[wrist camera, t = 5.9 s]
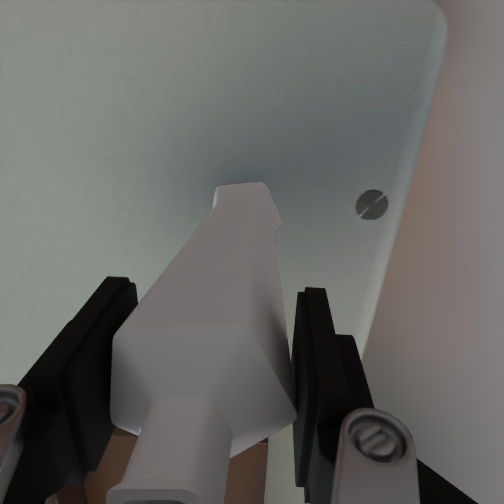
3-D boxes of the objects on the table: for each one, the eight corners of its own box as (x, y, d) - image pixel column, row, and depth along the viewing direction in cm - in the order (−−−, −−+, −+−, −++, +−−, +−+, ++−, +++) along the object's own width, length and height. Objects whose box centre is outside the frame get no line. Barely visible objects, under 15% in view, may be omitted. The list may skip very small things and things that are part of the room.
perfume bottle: (244, 150, 18) (139, 374, 5) (303, 215, 20) (347, 538, 6) (181, 210, 20) (-30, 504, 6) (239, 266, 21) (161, 613, 8)
